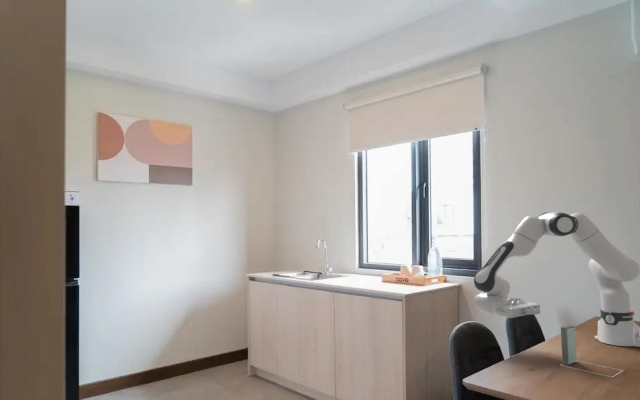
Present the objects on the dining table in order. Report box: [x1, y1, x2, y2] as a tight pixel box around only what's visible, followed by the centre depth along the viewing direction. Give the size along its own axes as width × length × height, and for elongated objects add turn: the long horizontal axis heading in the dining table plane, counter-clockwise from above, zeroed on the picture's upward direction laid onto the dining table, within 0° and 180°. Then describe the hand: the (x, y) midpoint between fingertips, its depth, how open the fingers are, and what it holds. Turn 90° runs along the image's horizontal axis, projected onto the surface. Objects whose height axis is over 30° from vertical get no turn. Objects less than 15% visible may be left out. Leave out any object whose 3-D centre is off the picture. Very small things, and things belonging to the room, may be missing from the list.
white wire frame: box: [559, 360, 624, 378], centre depth 165 cm, size 11×1×18 cm
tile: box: [560, 324, 578, 366], centre depth 172 cm, size 6×2×14 cm, turn 123°
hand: (538, 312), depth 183 cm, fingers closed
